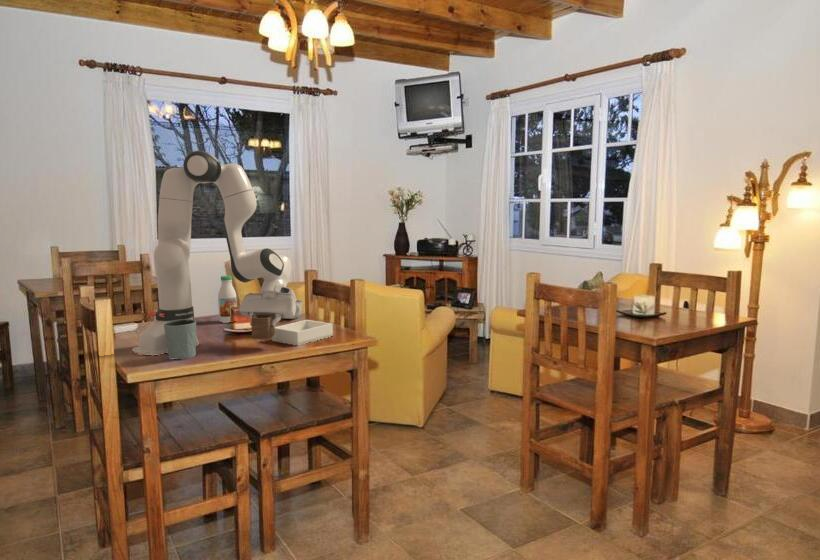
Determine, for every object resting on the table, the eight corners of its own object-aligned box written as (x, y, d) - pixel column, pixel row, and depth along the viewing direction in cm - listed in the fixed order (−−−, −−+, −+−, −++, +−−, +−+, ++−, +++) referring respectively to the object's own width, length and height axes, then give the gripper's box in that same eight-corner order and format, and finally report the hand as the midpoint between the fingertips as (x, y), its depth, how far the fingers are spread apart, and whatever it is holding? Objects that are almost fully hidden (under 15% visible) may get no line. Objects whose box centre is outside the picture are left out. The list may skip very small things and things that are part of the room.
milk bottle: (215, 322, 259) (212, 276, 256) (228, 319, 265) (226, 274, 263) (228, 324, 255) (226, 277, 252) (241, 320, 262) (239, 275, 259)
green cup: (201, 352, 207) (199, 318, 205) (192, 360, 197) (190, 325, 195) (172, 353, 206) (169, 319, 205) (161, 361, 196) (159, 325, 195)
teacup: (275, 317, 269) (275, 299, 268) (299, 314, 274) (298, 297, 273) (282, 322, 257) (282, 304, 256) (307, 320, 261) (306, 302, 260)
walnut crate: (268, 339, 208) (267, 318, 207) (251, 339, 209) (251, 318, 208) (274, 336, 214) (274, 315, 213) (258, 335, 215) (258, 314, 214)
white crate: (297, 345, 215) (297, 332, 215) (272, 340, 224) (271, 327, 223) (332, 336, 230) (332, 323, 229) (307, 331, 238) (307, 319, 237)
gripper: (242, 288, 218) (231, 319, 210) (296, 289, 215) (287, 321, 207) (248, 298, 223) (237, 329, 215) (300, 300, 220) (292, 331, 211)
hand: (262, 325), depth 210 cm, fingers closed on walnut crate, 6 cm apart
